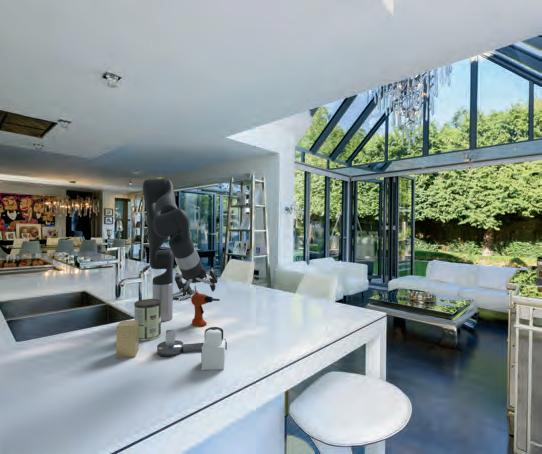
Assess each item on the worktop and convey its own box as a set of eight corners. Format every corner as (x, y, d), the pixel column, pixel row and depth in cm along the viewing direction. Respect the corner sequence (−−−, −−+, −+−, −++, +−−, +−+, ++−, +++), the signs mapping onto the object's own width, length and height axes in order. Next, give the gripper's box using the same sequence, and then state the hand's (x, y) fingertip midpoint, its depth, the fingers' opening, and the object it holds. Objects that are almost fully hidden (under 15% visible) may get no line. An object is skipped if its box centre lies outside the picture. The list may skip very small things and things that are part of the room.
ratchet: (155, 358, 106) (155, 336, 106) (158, 347, 115) (158, 327, 115) (227, 352, 112) (227, 331, 112) (225, 342, 120) (225, 323, 120)
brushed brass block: (116, 358, 105) (116, 326, 105) (120, 351, 111) (120, 320, 111) (135, 357, 107) (135, 325, 107) (138, 350, 113) (138, 319, 113)
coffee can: (146, 330, 133) (146, 297, 133) (166, 333, 130) (166, 300, 130) (128, 338, 123) (128, 303, 123) (149, 342, 120) (149, 306, 120)
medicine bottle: (204, 360, 105) (204, 325, 105) (225, 360, 105) (225, 324, 105) (201, 370, 98) (201, 332, 98) (223, 369, 98) (224, 332, 98)
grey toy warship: (184, 292, 203) (160, 303, 186) (183, 282, 202) (158, 292, 185) (200, 295, 197) (176, 307, 180) (199, 284, 196) (175, 295, 179)
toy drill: (217, 329, 131) (214, 294, 132) (189, 325, 142) (187, 293, 143) (225, 326, 134) (222, 292, 135) (198, 323, 146) (195, 291, 147)
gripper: (209, 250, 108) (221, 280, 118) (169, 256, 108) (184, 287, 118) (208, 265, 102) (220, 296, 112) (165, 272, 102) (182, 302, 112)
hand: (202, 291), depth 115 cm, fingers open, 8 cm apart
